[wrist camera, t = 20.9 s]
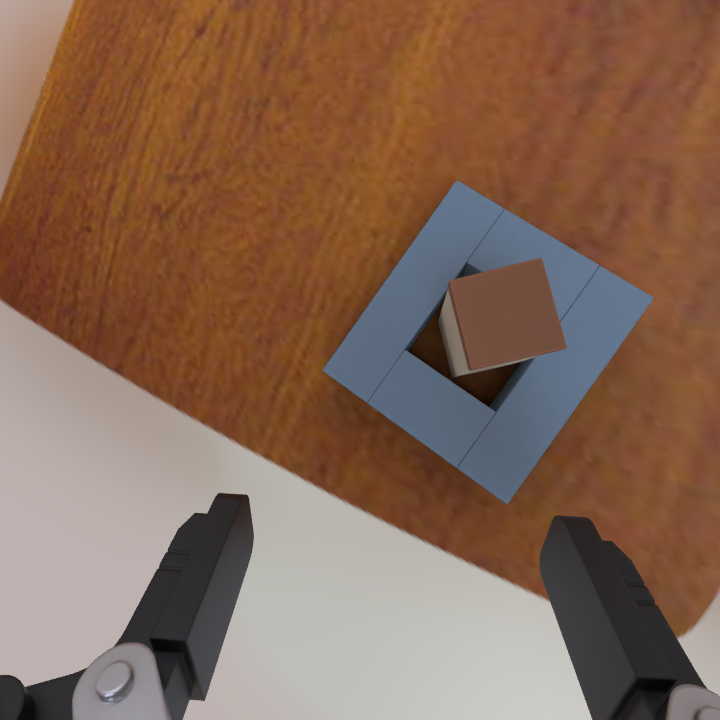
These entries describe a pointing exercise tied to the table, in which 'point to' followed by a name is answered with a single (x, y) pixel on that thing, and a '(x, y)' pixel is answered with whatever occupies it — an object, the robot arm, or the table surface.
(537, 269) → the brown square block
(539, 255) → the blue square frame
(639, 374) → the table surface
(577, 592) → the robot arm
